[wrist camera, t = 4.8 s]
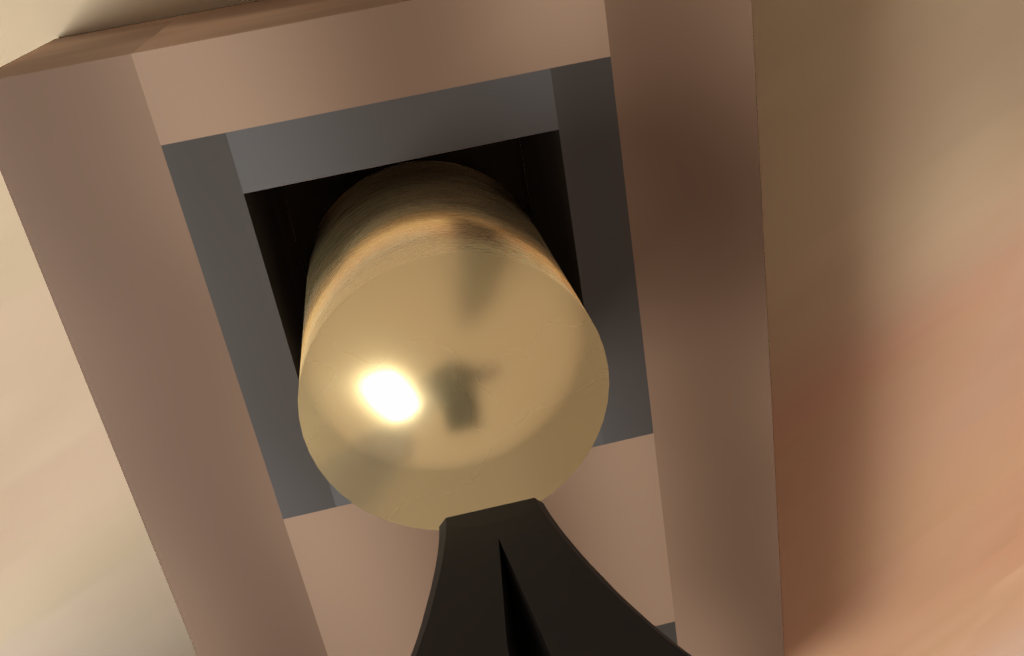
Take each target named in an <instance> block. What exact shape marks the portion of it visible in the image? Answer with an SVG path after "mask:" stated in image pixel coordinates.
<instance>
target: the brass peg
mask: <svg viewBox="0 0 1024 656" xmlns="http://www.w3.org/2000/svg"><path fill="white" fill-rule="evenodd" d="M608 393H609V372H608V364H607V359H606V354H605V349H604V347H603V344H602V341H601V339H600V336H599V333H598V331H597V329H596V328H595V326H594V324H593V322H592V320H591V319H590V317H589V315H588V313H587V312H586V310H585V308H584V307H583V305H582V303H581V302H580V300H579V298H578V297H577V295H576V293H575V292H574V290H573V288H572V287H571V285H570V283H569V282H568V280H567V279H566V277H565V275H564V274H563V272H562V270H561V269H560V267H559V265H558V264H557V262H556V260H555V259H554V257H553V255H552V254H551V252H550V250H549V249H548V247H547V245H546V244H545V242H544V240H543V239H542V237H541V235H540V234H539V232H538V230H537V229H536V227H535V225H534V224H533V222H532V220H531V219H530V217H529V215H528V214H527V212H526V211H525V209H524V208H523V207H522V205H521V204H520V203H519V201H518V200H517V199H516V198H515V197H514V196H513V195H512V194H511V193H510V192H509V191H508V190H507V189H506V188H504V187H503V186H502V185H500V184H499V183H498V182H497V181H495V180H494V179H492V178H490V177H488V176H487V175H485V174H483V173H481V172H479V171H476V170H474V169H471V168H469V167H466V166H462V165H458V164H454V163H449V162H441V161H415V162H408V163H402V164H398V165H394V166H391V167H387V168H385V169H382V170H380V171H378V172H375V173H373V174H371V175H369V176H367V177H366V178H364V179H362V180H361V181H359V182H357V183H356V184H355V185H353V186H352V187H351V188H350V189H348V190H347V191H346V192H345V193H344V194H343V195H342V196H341V197H340V198H339V199H338V200H337V201H336V202H335V203H334V204H333V205H332V207H331V208H330V209H329V211H328V212H327V213H326V215H325V216H324V218H323V220H322V222H321V223H320V225H319V227H318V229H317V231H316V234H315V236H314V239H313V242H312V245H311V249H310V254H309V258H308V270H307V283H306V296H305V309H304V323H303V336H302V349H301V363H300V376H299V389H298V411H299V421H300V425H301V430H302V434H303V438H304V440H305V443H306V445H307V448H308V450H309V453H310V455H311V456H312V458H313V460H314V462H315V464H316V465H317V467H318V469H319V470H320V471H321V473H322V474H323V475H324V476H325V478H326V479H327V480H328V482H329V483H330V484H331V485H332V486H333V487H334V488H335V489H336V490H337V491H339V492H340V493H341V494H342V495H343V496H344V497H345V498H347V499H348V500H349V501H351V502H352V503H354V504H355V505H356V506H358V507H360V508H361V509H363V510H365V511H367V512H369V513H370V514H372V515H374V516H377V517H379V518H382V519H384V520H387V521H389V522H392V523H396V524H400V525H403V526H407V527H412V528H419V529H426V530H439V526H440V525H441V524H442V522H443V521H444V520H445V518H447V517H452V516H456V515H460V514H465V513H469V512H474V511H478V510H482V509H487V508H491V507H496V506H500V505H504V504H509V503H513V502H518V501H522V500H526V499H531V498H536V499H537V500H539V501H542V500H543V499H545V498H546V497H548V496H549V495H550V494H552V493H553V492H554V491H555V490H556V489H558V488H559V487H560V486H561V485H562V484H563V483H564V482H566V481H567V479H568V478H569V477H570V476H571V475H572V474H573V473H574V472H575V471H576V469H577V468H578V467H579V466H580V464H581V463H582V462H583V460H584V459H585V457H586V456H587V454H588V453H589V451H590V450H591V448H592V446H593V444H594V442H595V440H596V438H597V436H598V434H599V431H600V428H601V426H602V423H603V420H604V417H605V412H606V408H607V403H608Z"/></svg>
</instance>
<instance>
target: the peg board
mask: <svg viewBox="0 0 1024 656" xmlns="http://www.w3.org/2000/svg"><path fill="white" fill-rule="evenodd" d="M515 138H519V141H520V147H521V153H522V160H523V166H524V172H525V178H526V184H527V191H528V197H529V203H530V209H531V216H532V222H533V224H534V225H535V227H536V229H537V230H538V232H539V234H540V235H541V237H542V239H543V240H544V242H545V244H546V245H547V247H548V249H549V250H550V252H551V254H552V255H553V257H554V259H555V260H556V262H557V264H558V265H559V267H560V269H561V270H562V272H563V274H564V275H565V277H566V279H567V280H568V282H569V283H570V285H571V287H572V288H573V290H574V292H575V293H576V295H577V297H578V298H579V300H580V302H581V303H582V305H583V307H584V308H585V310H586V312H587V313H588V315H589V317H590V319H591V320H592V322H593V324H594V326H595V328H596V329H597V331H598V333H599V336H600V339H601V341H602V344H603V347H604V349H605V354H606V359H607V364H608V372H609V393H608V403H607V408H606V412H605V417H604V420H603V423H602V426H601V428H600V431H599V434H598V436H597V438H596V440H595V442H594V444H593V446H592V448H591V450H590V451H589V453H588V454H587V456H586V457H585V459H584V460H583V462H582V463H581V464H580V466H579V467H578V468H577V469H576V471H575V472H574V473H573V474H572V475H571V476H570V477H569V478H568V479H567V481H566V482H564V483H563V484H562V485H561V486H560V487H559V488H558V489H556V490H555V491H554V492H553V493H552V494H550V495H549V496H548V497H546V498H545V499H543V500H542V501H541V502H542V503H544V505H545V507H546V508H547V510H548V512H549V513H550V514H551V516H552V517H553V519H554V520H555V522H556V523H557V524H558V526H559V527H560V528H561V530H562V531H563V532H564V534H565V535H566V536H567V537H568V539H569V540H570V541H571V542H572V543H573V544H574V546H575V547H576V548H577V549H578V550H579V552H580V553H581V554H582V555H583V556H584V557H585V558H586V560H587V561H588V562H589V563H590V564H591V565H592V566H593V567H594V568H595V569H596V570H597V571H598V572H599V573H600V574H601V575H602V576H603V577H604V579H605V580H606V581H607V582H608V583H609V584H610V585H611V586H612V587H613V588H614V589H615V590H616V591H617V592H618V593H619V594H620V595H621V596H622V597H623V598H624V599H625V600H626V601H628V602H629V603H630V604H631V605H632V606H633V607H634V608H635V609H636V610H637V611H638V612H640V613H641V614H642V615H643V616H644V617H645V618H646V619H647V620H648V621H650V622H651V623H652V624H653V625H654V626H655V627H656V628H658V629H659V630H660V631H661V632H662V633H664V634H665V635H666V636H667V637H668V638H670V639H671V640H672V641H673V642H675V643H676V644H677V645H678V646H680V647H681V648H682V649H683V650H685V651H686V652H687V653H689V654H690V655H691V656H784V639H783V619H782V599H781V579H780V559H779V539H778V519H777V499H776V480H775V460H774V440H773V420H772V400H771V380H770V360H769V340H768V320H767V300H766V280H765V260H764V240H763V220H762V200H761V180H760V160H759V140H758V120H757V100H756V80H755V60H754V41H753V21H752V1H751V0H260V1H255V2H250V3H244V4H239V5H234V6H228V7H223V8H218V9H212V10H207V11H202V12H196V13H191V14H186V15H180V16H175V17H170V18H164V19H159V20H154V21H148V22H143V23H138V24H132V25H127V26H122V27H116V28H111V29H106V30H100V31H95V32H90V33H85V34H79V35H74V36H69V37H63V38H58V39H54V40H52V41H51V42H49V43H47V44H45V45H43V46H41V47H39V48H37V49H35V50H33V51H31V52H29V53H27V54H25V55H23V56H21V57H20V58H18V59H16V60H14V61H12V62H10V63H8V64H6V65H4V66H2V67H0V171H1V173H2V176H3V178H4V181H5V183H6V186H7V188H8V191H9V193H10V195H11V198H12V200H13V203H14V205H15V208H16V210H17V213H18V215H19V218H20V220H21V223H22V225H23V227H24V230H25V232H26V235H27V237H28V240H29V242H30V245H31V247H32V250H33V252H34V255H35V257H36V259H37V262H38V264H39V267H40V269H41V272H42V274H43V277H44V279H45V282H46V284H47V287H48V289H49V291H50V294H51V296H52V299H53V301H54V304H55V306H56V309H57V311H58V314H59V316H60V319H61V321H62V323H63V326H64V328H65V331H66V333H67V336H68V338H69V341H70V343H71V346H72V348H73V351H74V353H75V355H76V358H77V360H78V363H79V365H80V368H81V370H82V373H83V375H84V378H85V380H86V383H87V385H88V388H89V390H90V392H91V395H92V397H93V400H94V402H95V405H96V407H97V410H98V412H99V415H100V417H101V420H102V422H103V424H104V427H105V429H106V432H107V434H108V437H109V439H110V442H111V444H112V447H113V449H114V452H115V454H116V456H117V459H118V461H119V464H120V466H121V469H122V471H123V474H124V476H125V479H126V481H127V484H128V486H129V488H130V491H131V493H132V496H133V498H134V501H135V503H136V506H137V508H138V511H139V513H140V516H141V518H142V520H143V523H144V525H145V528H146V530H147V533H148V535H149V538H150V540H151V543H152V545H153V548H154V550H155V552H156V555H157V557H158V560H159V562H160V565H161V567H162V570H163V572H164V575H165V577H166V580H167V582H168V584H169V587H170V589H171V592H172V594H173V597H174V599H175V602H176V604H177V607H178V609H179V612H180V614H181V616H182V619H183V621H184V624H185V626H186V629H187V631H188V634H189V636H190V639H191V641H192V644H193V646H194V648H195V651H196V653H197V656H411V654H412V651H413V648H414V646H415V643H416V640H417V637H418V634H419V630H420V627H421V624H422V620H423V616H424V612H425V609H426V605H427V601H428V597H429V594H430V590H431V586H432V581H433V576H434V571H435V566H436V560H437V554H438V545H439V530H426V529H419V528H412V527H407V526H403V525H400V524H396V523H392V522H389V521H387V520H384V519H382V518H379V517H377V516H374V515H372V514H370V513H369V512H367V511H365V510H363V509H361V508H360V507H358V506H356V505H355V504H354V503H352V502H351V501H349V500H348V499H347V498H345V497H344V496H343V495H342V494H341V493H340V492H339V491H337V490H336V489H335V488H334V487H333V486H332V485H331V484H330V483H329V482H328V480H327V479H326V478H325V476H324V475H323V474H322V473H321V471H320V470H319V469H318V467H317V465H316V464H315V462H314V460H313V458H312V456H311V455H310V453H309V450H308V448H307V445H306V443H305V440H304V438H303V434H302V430H301V425H300V421H299V411H298V389H299V376H300V363H301V349H302V336H303V323H304V309H305V296H306V283H307V278H306V275H305V271H304V267H303V264H302V260H301V256H300V253H299V249H298V246H297V242H296V238H295V235H294V231H293V228H292V224H291V220H290V217H289V213H288V209H287V206H286V202H285V199H284V195H283V191H282V188H281V186H284V185H289V184H294V183H299V182H304V181H309V180H314V179H318V178H323V177H328V176H333V175H338V174H343V173H348V172H353V171H358V170H363V169H367V168H372V167H377V166H382V165H387V164H392V163H397V162H402V161H407V160H412V159H417V158H421V157H426V156H431V155H436V154H441V153H446V152H451V151H456V150H461V149H466V148H470V147H475V146H480V145H485V144H490V143H495V142H500V141H505V140H510V139H515Z"/></svg>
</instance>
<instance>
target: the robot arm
mask: <svg viewBox="0 0 1024 656" xmlns="http://www.w3.org/2000/svg"><path fill="white" fill-rule="evenodd" d="M411 656H691V655H690V654H689V653H687V652H686V651H685V650H683V649H682V648H681V647H680V646H678V645H677V644H676V643H675V642H673V641H672V640H671V639H670V638H668V637H667V636H666V635H665V634H664V633H662V632H661V631H660V630H659V629H658V628H656V627H655V626H654V625H653V624H652V623H651V622H650V621H648V620H647V619H646V618H645V617H644V616H643V615H642V614H641V613H640V612H638V611H637V610H636V609H635V608H634V607H633V606H632V605H631V604H630V603H629V602H628V601H626V600H625V599H624V598H623V597H622V596H621V595H620V594H619V593H618V592H617V591H616V590H615V589H614V588H613V587H612V586H611V585H610V584H609V583H608V582H607V581H606V580H605V579H604V577H603V576H602V575H601V574H600V573H599V572H598V571H597V570H596V569H595V568H594V567H593V566H592V565H591V564H590V563H589V562H588V561H587V560H586V558H585V557H584V556H583V555H582V554H581V553H580V552H579V550H578V549H577V548H576V547H575V546H574V544H573V543H572V542H571V541H570V540H569V539H568V537H567V536H566V535H565V534H564V532H563V531H562V530H561V528H560V527H559V526H558V524H557V523H556V522H555V520H554V519H553V517H552V516H551V514H550V513H549V512H548V510H547V508H546V507H545V505H544V503H542V502H541V501H539V500H537V499H536V498H531V499H526V500H522V501H518V502H513V503H509V504H504V505H500V506H496V507H491V508H487V509H482V510H478V511H474V512H469V513H465V514H460V515H456V516H452V517H447V518H445V520H444V521H443V522H442V524H441V525H440V526H439V545H438V554H437V560H436V566H435V571H434V576H433V581H432V586H431V590H430V594H429V597H428V601H427V605H426V609H425V612H424V616H423V620H422V624H421V627H420V630H419V634H418V637H417V640H416V643H415V646H414V648H413V651H412V654H411Z"/></svg>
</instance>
